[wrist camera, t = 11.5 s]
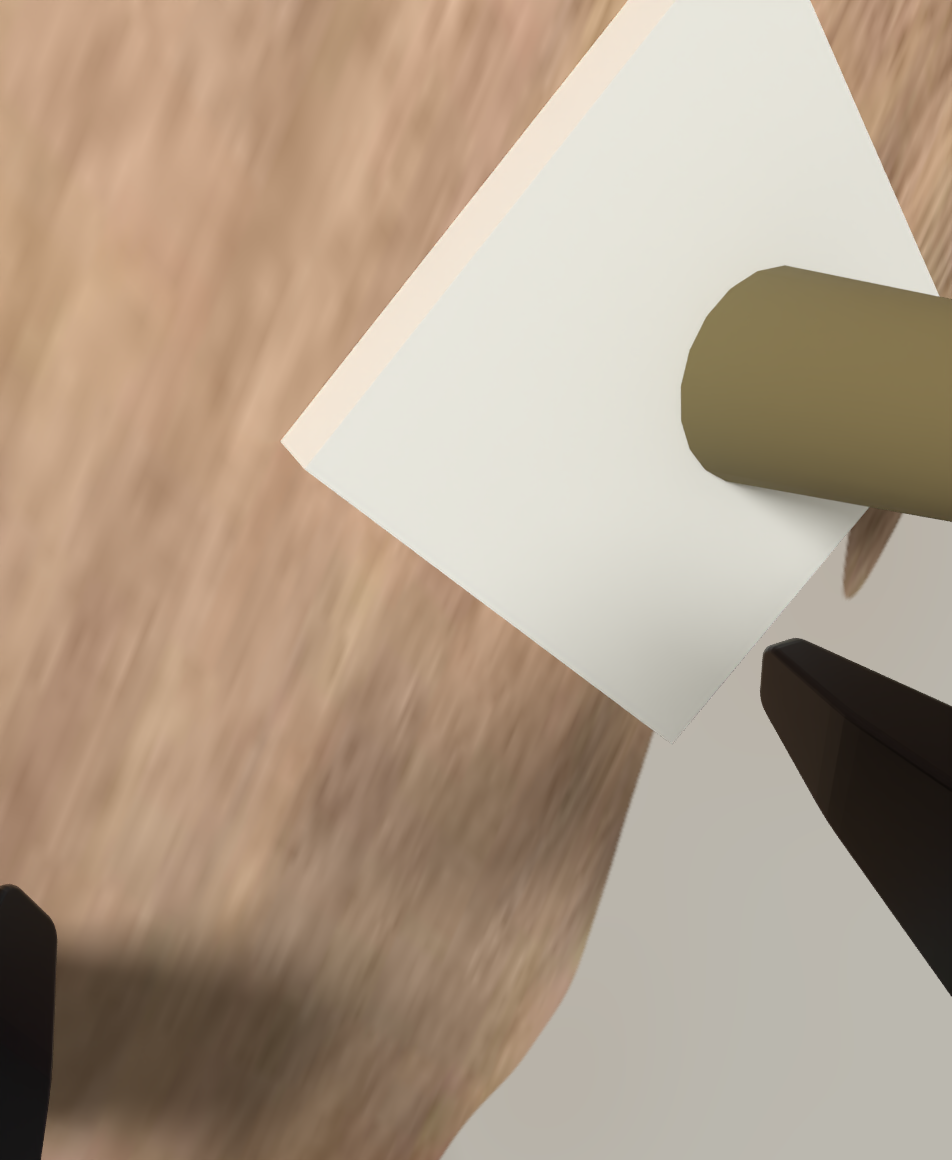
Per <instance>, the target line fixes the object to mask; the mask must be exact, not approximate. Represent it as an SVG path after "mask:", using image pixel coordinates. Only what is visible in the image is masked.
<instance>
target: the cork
mask: <svg viewBox="0 0 952 1160" xmlns="http://www.w3.org/2000/svg"><path fill="white" fill-rule="evenodd" d="M681 422H682V425H683V429H684V432H685V435H686V439H687V442H688V445H689V449H690V450H691V452H692V453H693V454H694V456H695V457H696V458H697V460H698V461H699V462H700V464H701V465H702V466H703V468H704V469H705V470H706V471H708V472H710V473H712V474H713V475H715V476H717V477H719V478H721V479H723V480H724V481H727V482H733V483H738V484H744V485H749V486H755V487H760V488H766V489H772V490H777V491H783V492H788V493H794V494H800V495H805V496H811V497H816V498H822V499H827V500H833V501H839V502H844V503H850V504H855V505H861V506H866V507H872V508H878V509H883V510H889V511H894V512H900V513H906V514H912V515H917V516H922V517H928V518H934V519H939V520H945V521H950V522H952V299H949V298H944V297H939V296H934V295H929V294H924V293H919V292H914V291H909V290H904V289H900V288H895V287H890V286H885V285H880V284H875V283H870V282H865V281H860V280H855V279H850V278H845V277H840V276H835V275H830V274H826V273H821V272H816V271H811V270H806V269H801V268H796V267H791V266H786V265H784V266H779V267H774V268H770V269H765V270H760V271H757V272H755V273H754V274H752V275H751V276H749V277H748V278H746V279H744V280H743V281H741V282H740V283H738V284H737V285H735V286H734V287H732V288H731V289H730V290H729V291H728V292H727V293H726V294H725V295H724V297H723V298H722V299H721V300H720V301H719V302H718V304H717V305H716V306H715V307H714V308H713V309H712V311H711V312H710V313H709V314H708V315H707V316H706V318H705V320H704V322H703V324H702V326H701V328H700V330H699V332H698V334H697V336H696V338H695V340H694V342H693V344H692V346H691V348H690V350H689V354H688V359H687V363H686V367H685V371H684V375H683V379H682V384H681Z"/></svg>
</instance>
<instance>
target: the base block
mask: <svg viewBox="0 0 952 1160" xmlns="http://www.w3.org/2000/svg"><path fill="white" fill-rule="evenodd" d="M784 265H786V266H791V267H796V268H801V269H806V270H811V271H816V272H821V273H826V274H830V275H835V276H840V277H845V278H850V279H855V280H860V281H865V282H870V283H875V284H880V285H885V286H890V287H895V288H900V289H904V290H909V291H914V292H919V293H924V294H929V295H934V296H939V295H938V292H937V290H936V288H935V285H934V283H933V281H932V279H931V276H930V274H929V272H928V269H927V267H926V265H925V263H924V260H923V258H922V256H921V253H920V251H919V249H918V246H917V244H916V242H915V240H914V237H913V235H912V233H911V230H910V228H909V226H908V224H907V221H906V219H905V217H904V214H903V212H902V210H901V208H900V205H899V203H898V201H897V198H896V196H895V194H894V192H893V189H892V187H891V185H890V182H889V180H888V178H887V175H886V173H885V171H884V169H883V166H882V164H881V162H880V159H879V157H878V155H877V153H876V150H875V148H874V146H873V143H872V141H871V139H870V137H869V134H868V132H867V130H866V127H865V125H864V123H863V121H862V118H861V116H860V114H859V111H858V109H857V107H856V104H855V102H854V100H853V98H852V95H851V93H850V91H849V88H848V86H847V84H846V82H845V79H844V77H843V75H842V72H841V70H840V68H839V66H838V63H837V61H836V59H835V56H834V54H833V52H832V50H831V47H830V45H829V43H828V40H827V38H826V36H825V33H824V31H823V29H822V27H821V24H820V22H819V20H818V17H817V15H816V13H815V11H814V8H813V6H812V4H811V1H810V0H628V1H627V2H626V4H625V5H624V6H623V7H622V9H621V10H620V11H619V12H618V14H617V15H616V16H615V18H614V19H613V20H612V21H611V23H610V24H609V25H608V26H607V28H606V29H605V30H604V31H603V33H602V34H601V35H600V37H599V38H598V39H597V40H596V42H595V43H594V44H593V45H592V47H591V48H590V49H589V51H588V52H587V53H586V54H585V56H584V57H583V58H582V59H581V61H580V62H579V63H578V64H577V66H576V67H575V68H574V70H573V71H572V72H571V73H570V75H569V76H568V77H567V78H566V80H565V81H564V82H563V83H562V85H561V86H560V87H559V89H558V90H557V91H556V92H555V94H554V95H553V96H552V97H551V99H550V100H549V101H548V102H547V104H546V105H545V106H544V108H543V109H542V110H541V111H540V113H539V114H538V115H537V116H536V118H535V119H534V120H533V122H532V123H531V124H530V125H529V127H528V128H527V129H526V130H525V132H524V133H523V134H522V135H521V137H520V138H519V139H518V141H517V142H516V143H515V144H514V146H513V147H512V148H511V149H510V151H509V152H508V153H507V154H506V156H505V157H504V158H503V160H502V161H501V162H500V163H499V165H498V166H497V167H496V168H495V170H494V171H493V172H492V173H491V175H490V176H489V177H488V179H487V180H486V181H485V182H484V184H483V185H482V186H481V187H480V189H479V190H478V191H477V193H476V194H475V195H474V196H473V198H472V199H471V200H470V201H469V203H468V204H467V205H466V206H465V208H464V209H463V210H462V212H461V213H460V214H459V215H458V217H457V218H456V219H455V220H454V222H453V223H452V224H451V225H450V227H449V228H448V229H447V231H446V232H445V233H444V234H443V236H442V237H441V238H440V239H439V241H438V242H437V243H436V244H435V246H434V247H433V248H432V250H431V251H430V252H429V253H428V255H427V256H426V257H425V258H424V260H423V261H422V262H421V264H420V265H419V266H418V267H417V269H416V270H415V271H414V272H413V274H412V275H411V276H410V277H409V279H408V280H407V281H406V283H405V284H404V285H403V286H402V288H401V289H400V290H399V291H398V293H397V294H396V295H395V296H394V298H393V299H392V300H391V302H390V303H389V304H388V305H387V307H386V308H385V309H384V310H383V312H382V313H381V314H380V315H379V317H378V318H377V319H376V321H375V322H374V323H373V324H372V326H371V327H370V328H369V329H368V331H367V332H366V333H365V335H364V336H363V337H362V338H361V340H360V341H359V342H358V343H357V345H356V346H355V347H354V348H353V350H352V351H351V352H350V354H349V355H348V356H347V357H346V359H345V360H344V361H343V362H342V364H341V365H340V366H339V367H338V369H337V370H336V371H335V373H334V374H333V375H332V376H331V378H330V379H329V380H328V381H327V383H326V384H325V385H324V386H323V388H322V389H321V390H320V392H319V393H318V394H317V395H316V397H315V398H314V399H313V400H312V402H311V403H310V404H309V406H308V407H307V408H306V409H305V411H304V412H303V413H302V414H301V416H300V417H299V418H298V419H297V421H296V422H295V423H294V425H293V426H292V427H291V428H290V430H289V431H288V432H287V433H286V435H285V436H284V437H283V438H282V440H281V443H282V444H283V445H284V446H285V447H286V448H287V450H288V451H289V452H290V453H291V454H292V455H293V456H294V458H295V459H296V460H297V461H298V462H299V463H300V465H301V466H302V467H303V468H304V469H305V470H306V471H308V472H309V473H310V474H312V475H313V476H314V477H316V478H317V479H318V480H320V481H321V482H322V483H324V484H325V485H326V486H328V487H329V488H330V489H332V490H333V491H334V492H336V493H337V494H338V495H340V496H341V497H342V498H344V499H345V500H346V501H348V502H349V503H350V504H352V505H353V506H354V507H356V508H357V509H358V510H360V511H361V512H362V513H364V514H365V515H366V516H368V517H369V518H370V519H372V520H373V521H374V522H376V523H377V524H378V525H380V526H381V527H382V528H384V529H385V530H386V531H388V532H389V533H390V534H392V535H393V536H394V537H396V538H397V539H398V540H400V541H401V542H402V543H404V544H405V545H406V546H408V547H409V548H410V549H412V550H413V551H414V552H416V553H417V554H418V555H420V556H421V557H422V558H424V559H425V560H426V561H428V562H429V563H430V564H432V565H433V566H434V567H436V568H437V569H438V570H440V571H441V572H442V573H444V574H445V575H446V576H448V577H449V578H450V579H452V580H453V581H454V582H456V583H457V584H458V585H460V586H461V587H462V588H464V589H465V590H466V591H468V592H469V593H470V594H472V595H473V596H474V597H476V598H477V599H478V600H480V601H481V602H482V603H484V604H485V605H486V606H488V607H489V608H490V609H492V610H493V611H494V612H496V613H497V614H498V615H500V616H501V617H502V618H504V619H505V620H506V621H508V622H509V623H510V624H512V625H513V626H514V627H516V628H517V629H518V630H520V631H521V632H522V633H524V634H525V635H527V636H528V637H529V638H531V639H532V640H533V641H535V642H536V643H537V644H539V645H540V646H541V647H543V648H544V649H545V650H547V651H548V652H549V653H551V654H552V655H553V656H555V657H556V658H557V659H559V660H560V661H561V662H563V663H564V664H565V665H567V666H568V667H569V668H571V669H572V670H573V671H575V672H576V673H577V674H579V675H580V676H581V677H583V678H584V679H585V680H587V681H588V682H589V683H591V684H592V685H593V686H595V687H596V688H597V689H599V690H600V691H601V692H603V693H604V694H605V695H607V696H608V697H609V698H611V699H612V700H613V701H615V702H616V703H617V704H619V705H620V706H621V707H623V708H624V709H625V710H627V711H628V712H629V713H631V714H632V715H633V716H635V717H636V718H637V719H639V720H640V721H641V722H643V723H644V724H645V725H647V726H648V727H649V728H651V729H652V730H653V731H655V732H656V733H657V734H659V735H660V736H661V737H663V738H664V739H665V740H667V741H668V742H669V743H671V744H673V743H674V742H675V740H676V739H677V738H678V737H679V735H680V734H681V733H682V732H683V731H684V730H685V728H686V727H687V726H688V725H689V724H690V722H691V721H692V720H693V719H694V718H695V716H696V715H697V714H698V713H699V712H700V710H701V709H702V708H703V707H704V705H705V704H706V703H707V702H708V700H710V698H711V697H712V696H713V695H714V693H715V692H716V691H717V690H718V689H719V687H720V686H721V685H722V684H723V683H724V681H725V680H726V679H727V678H728V676H729V675H730V674H731V673H732V672H733V671H734V669H735V668H736V667H737V666H738V665H739V663H740V662H741V661H742V660H743V659H744V657H745V656H746V655H747V654H748V653H749V651H750V650H751V649H752V648H753V647H754V645H755V644H756V643H757V642H758V640H759V639H760V638H761V637H762V636H763V634H764V633H765V632H766V631H767V630H768V628H769V627H770V626H771V625H772V624H773V622H774V621H775V620H776V619H777V617H778V616H779V615H780V614H781V613H782V612H783V610H784V609H785V608H786V607H787V605H788V604H789V603H790V602H791V601H792V600H793V598H794V597H795V596H796V595H797V594H798V592H799V591H800V590H801V589H802V588H803V586H804V585H805V584H806V583H807V582H808V580H809V579H810V578H811V577H812V575H813V574H814V573H815V572H816V571H817V569H818V568H819V567H820V566H821V565H822V563H823V562H824V561H825V560H826V559H827V557H828V556H829V555H830V554H831V553H832V551H833V550H834V549H835V548H836V547H837V545H838V544H839V543H840V542H841V540H842V539H843V538H844V537H845V536H846V535H847V533H848V532H849V531H850V530H851V529H852V527H853V526H854V525H855V524H856V523H857V521H858V520H859V519H860V518H861V517H862V515H863V514H864V513H865V512H866V511H867V509H868V508H869V507H866V506H861V505H855V504H850V503H844V502H839V501H833V500H827V499H822V498H816V497H811V496H805V495H800V494H794V493H788V492H783V491H777V490H772V489H766V488H760V487H755V486H749V485H744V484H738V483H733V482H727V481H724V480H723V479H721V478H719V477H717V476H715V475H713V474H712V473H710V472H708V471H706V470H705V469H704V468H703V466H702V465H701V464H700V462H699V461H698V460H697V458H696V457H695V456H694V454H693V453H692V452H691V450H690V449H689V445H688V442H687V439H686V435H685V432H684V429H683V425H682V422H681V384H682V379H683V375H684V371H685V367H686V363H687V359H688V354H689V350H690V348H691V346H692V344H693V342H694V340H695V338H696V336H697V334H698V332H699V330H700V328H701V326H702V324H703V322H704V320H705V318H706V316H707V315H708V314H709V313H710V312H711V311H712V309H713V308H714V307H715V306H716V305H717V304H718V302H719V301H720V300H721V299H722V298H723V297H724V295H725V294H726V293H727V292H728V291H729V290H730V289H731V288H732V287H734V286H735V285H737V284H738V283H740V282H741V281H743V280H744V279H746V278H748V277H749V276H751V275H752V274H754V273H755V272H757V271H760V270H765V269H770V268H774V267H779V266H784Z"/></svg>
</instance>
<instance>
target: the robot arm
mask: <svg viewBox="0 0 952 1160" xmlns="http://www.w3.org/2000/svg"><path fill="white" fill-rule="evenodd" d="M760 696H761V702H762V705H763V708H764V710H765V712H766V714H767V716H768V717H769V719H770V721H771V723H772V725H773V726H774V728H775V730H776V732H777V734H778V735H779V737H780V739H781V741H782V743H783V744H784V746H785V748H786V750H787V751H788V753H789V755H790V757H791V759H792V760H793V762H794V764H795V766H796V768H797V769H798V771H799V773H800V775H801V776H802V778H803V780H804V782H805V784H806V785H807V787H808V789H809V791H810V792H811V794H812V796H813V798H814V800H815V801H816V803H817V805H818V806H819V808H820V810H821V811H822V813H823V815H824V816H825V818H826V820H827V821H828V823H829V824H830V826H831V827H832V829H833V830H834V832H835V833H836V835H837V836H838V838H839V839H840V840H841V842H842V843H843V845H844V846H845V847H846V849H847V850H848V852H849V853H850V854H851V856H852V857H853V859H854V860H855V861H856V863H857V864H858V866H859V867H860V868H861V870H862V871H863V873H864V874H865V875H866V877H867V878H868V880H869V881H870V883H871V884H872V885H873V887H874V888H875V890H876V891H877V892H878V894H879V895H880V896H881V898H882V899H883V901H884V902H885V904H886V905H887V906H888V908H889V909H890V911H891V912H892V914H893V915H894V916H895V918H896V919H897V920H898V922H899V923H900V925H901V926H902V928H903V929H904V930H905V932H906V933H907V935H908V936H909V937H910V939H911V940H912V942H913V943H914V944H915V946H916V947H917V949H918V950H919V951H920V953H921V954H922V956H923V957H924V958H925V960H926V961H927V963H928V964H929V966H930V967H931V968H932V970H933V971H934V973H935V974H936V975H937V977H938V978H939V979H940V981H941V982H942V984H943V985H944V987H945V988H946V989H947V991H948V992H949V993H950V995H951V996H952V706H950V705H948V704H945V703H943V702H941V701H939V700H937V699H935V698H932V697H930V696H928V695H926V694H923V693H921V692H919V691H917V690H915V689H912V688H910V687H908V686H906V685H903V684H901V683H899V682H897V681H895V680H892V679H890V678H888V677H885V676H884V675H881V674H879V673H877V672H875V671H872V670H870V669H868V668H866V667H864V666H861V665H859V664H857V663H855V662H852V661H850V660H848V659H846V658H844V657H841V656H839V655H837V654H835V653H833V652H830V651H828V650H826V649H824V648H822V647H819V646H817V645H815V644H812V643H810V642H808V641H806V640H803V639H799V638H793V639H789V640H786V641H782V642H779V643H776V644H773V645H770V646H768V647H767V648H766V649H765V651H764V653H763V659H762V673H761V686H760ZM56 960H57V934H56V929H55V926H54V923H53V921H52V920H51V918H50V917H49V916H48V915H47V914H46V913H45V912H44V911H43V910H42V909H41V908H40V907H39V906H38V905H37V904H36V903H35V902H34V901H33V900H32V899H31V898H30V897H29V896H28V895H26V894H25V893H24V892H23V891H22V890H21V889H20V888H19V887H18V886H15V885H12V884H5V885H2V886H0V1160H41V1154H42V1147H43V1140H44V1133H45V1126H46V1119H47V1111H48V1104H49V1096H50V1088H51V1079H52V1064H53V1044H54V1016H55V988H56Z"/></svg>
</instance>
